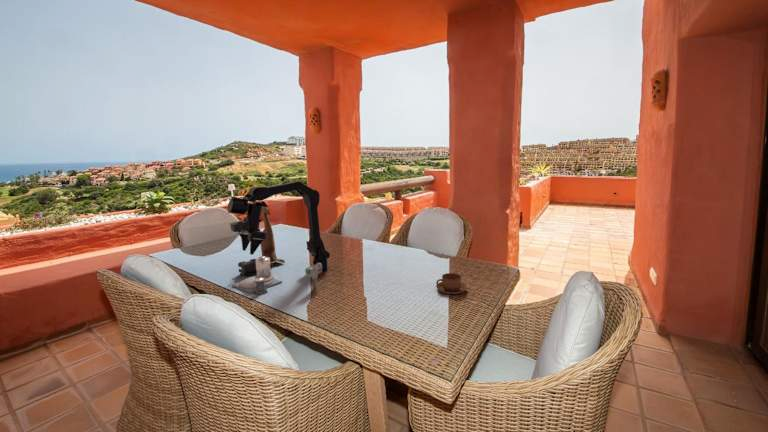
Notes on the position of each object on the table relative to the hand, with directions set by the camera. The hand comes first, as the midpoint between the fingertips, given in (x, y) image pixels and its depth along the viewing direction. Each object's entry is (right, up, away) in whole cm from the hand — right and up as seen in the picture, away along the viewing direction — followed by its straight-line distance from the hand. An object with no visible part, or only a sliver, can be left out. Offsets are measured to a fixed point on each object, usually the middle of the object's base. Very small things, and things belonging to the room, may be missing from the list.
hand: (247, 252), depth 146 cm
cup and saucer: (+85, -15, -7) cm, 86 cm away
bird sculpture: (-2, -10, +34) cm, 36 cm away
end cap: (-6, -13, +21) cm, 25 cm away
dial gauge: (+7, -16, -4) cm, 18 cm away
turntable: (+2, -15, +6) cm, 16 cm away
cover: (+5, -13, +8) cm, 15 cm away
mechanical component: (+29, -15, -1) cm, 33 cm away
